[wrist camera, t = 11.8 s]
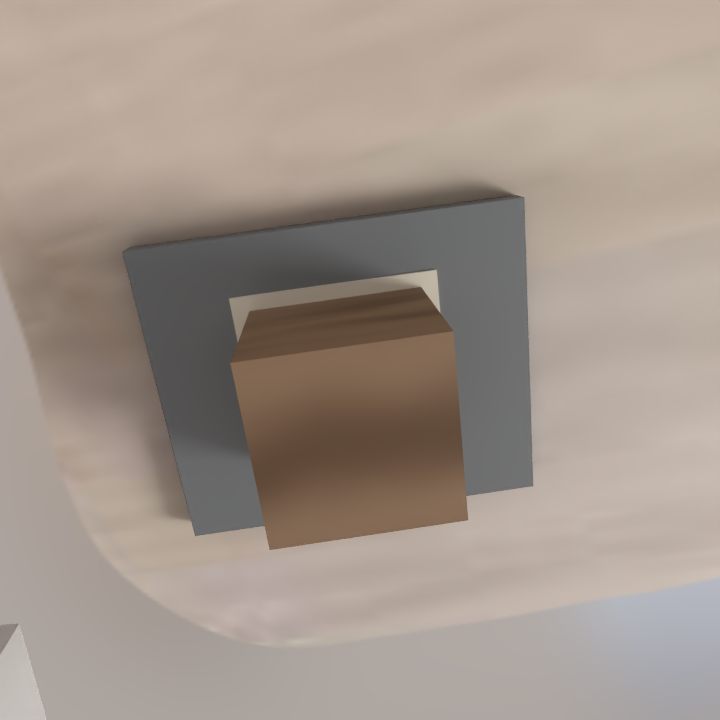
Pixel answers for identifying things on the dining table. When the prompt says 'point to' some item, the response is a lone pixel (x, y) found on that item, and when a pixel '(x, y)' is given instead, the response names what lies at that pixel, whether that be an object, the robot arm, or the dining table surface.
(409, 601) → the dining table surface
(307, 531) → the walnut block
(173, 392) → the grey flat slab
